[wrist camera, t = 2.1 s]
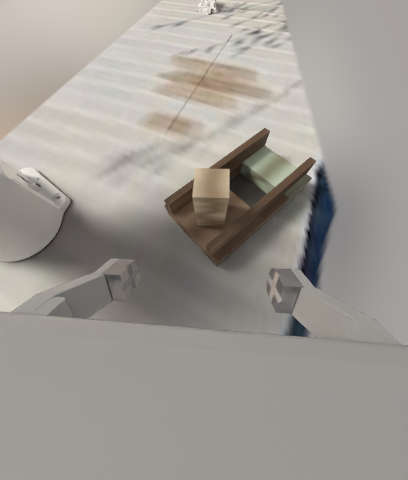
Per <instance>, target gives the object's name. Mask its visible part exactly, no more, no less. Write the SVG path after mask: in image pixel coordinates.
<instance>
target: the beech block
mask: <svg viewBox="0 0 408 480" xmlns="http://www.w3.org/2000/svg"><path fill="white" fill-rule="evenodd" d="M229 179H230V169H207V168H195V175H194V185H193V194H192V199H193V205H194V210H195V216H196V221H197V225H201V226H224V223H225V218H226V212H227V207H228V202H229Z"/></svg>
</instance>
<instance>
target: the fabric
mask: <svg viewBox="0 0 408 480" xmlns="http://www.w3.org/2000/svg"><path fill="white" fill-rule="evenodd" d="M202 5H203V6H202ZM204 5H205V6H204ZM196 7H203V8H200V9H198V10H196V11H199V12H200V13H203V14H207V15H208V13H209V14H210V13H213V14H214V10H213V9H212V8H215V9H216V11H215V12H218V13H219V11H218V10H217V7H216V0H202V2H201V3H200V4H199V6H196ZM201 11H202V12H201Z"/></svg>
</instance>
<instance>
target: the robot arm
mask: <svg viewBox="0 0 408 480" xmlns="http://www.w3.org/2000/svg"><path fill="white" fill-rule="evenodd" d="M69 204H70V199H69V198H68V197H67V196H66V195H65V194H64V193H62V192H61V191H60V190H59V189H58V188H57V187H55V186H54V185H53V184H52V183H51V182H50V181H48V180H47V179H46V178H45V177H44V176H43V175H41V174H40V173H39V172H38V171H37V170H35V169H33V168H31V167H29V168H23V169H19V170H16V169H15V168H13V167H12V166H10V165H9V164H7V163H5V162H4V161H2V160H0V261H5V262H14V261H19V260H23V259H26V258H28V257H30V256H32V255H34V254H36V253H37V252H39V251H40V250H42V249H43V248H44V247H45V246H46V245H47V244H48V243H49V242H50V241H51V240H52V239H53V238H54V236H55V235H56V233H57V232H58V230H59V228H60V225H61V222H62V218H63V214H64V212H65V210H66V209H67V207H68V206H69ZM137 267H138V263H137V261H136V260H127V259H110V260H108V261H107V262H106V263H105V264H104V265H102V266H101V267H100V268H99V269H98V270H96V271H95V272H94V273H93V274H88V275H85V276H82V277H80V278H77V279H75V280H72V281H70V282H67V283H64V284H62V285H59V286H57V287H54V288H51V289H49V290H46V291H44V292H41V293H39V294H36V295H35V296H33V297H32V298H30V299H29V300H28V301H26V302H25V303H23V304H22V305H20V306H19V307H18V308H16V309H15V310H13V311H12V312H0V480H408V345H401V344H400V343H399V342H398V341H397V340H396V339H395V338H394V337H393V336H392V335H391V334H390V333H389V332H388V331H387V330H386V329H384V328H383V327H382V326H381V325H380V324H379V323H378V322H377V321H376V320H375V319H373V318H371V317H369V316H367V315H366V314H363V313H362V312H360V311H358V310H356V309H355V308H353V307H351V306H349V305H347V304H346V303H344V302H342V301H340V300H338V299H337V298H335V297H333V296H331V295H329V294H327V293H326V292H324V291H322V290H320V289H318V288H315V287H314V286H313V285H312V284H311V282H310V281H309V280H308V279H307V278H306V276H305V275H304V274H303V273H302V272H301V270H299V269H275V268H271V270H270V273H269V275H270V277H271V278H270V279H269V280H268V282H267V292H268V295H269V297H270V298H272V302H271V303H272V305H273V307H274V310H275V312H279V313H289V314H292V315H293V316H294V317H295V318H296V319H297V320H298V321H299V322H300V323H301V324H302V325H303V326H304V327H305V328H306V329H308V330H309V331H310V332H311V333H312V334H313V335H314V336H315V337H316V338H312V337H299V336H287V335H274V334H263V333H251V332H239V331H227V330H216V329H204V328H191V327H179V326H167V325H155V324H143V323H131V322H119V321H107V320H95V319H87V318H89V317H90V316H92V315H93V314H94V313H96V312H97V311H99V310H100V309H102V308H103V307H105V306H106V305H107V304H109V303H110V302H112V300H116V301H127V300H128V299H129V297H130V296H131V294H132V293H133V291H132V289H134V288H136V287H137V285H138V284H139V281H140V272H139V271H138V270H137Z"/></svg>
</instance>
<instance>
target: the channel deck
mask: <svg viewBox="0 0 408 480" xmlns="http://www.w3.org/2000/svg"><path fill="white" fill-rule="evenodd" d="M269 132H270V131H269V130H267V129H266V128H264V129H263V130H261V131H260V132H259V133H257V134H256V135H254V136H253V137H252V138H250V139H249V140H248V141H246V142H245V143H243V144H242V145H241V146H239V147H238V148H236V149H235V150H234V151H232V152H231V153H229V154H228V155H227V156H225V157H224V158H222V159H221V160H220V161H218V162H217V163H216V164H214V165H213V166H211V167H210V168H209V169H230V179H229V202H228V207H227V212H226V218H225V223H224V226H201V225H197V221H196V216H195V210H194V205H193V199H192V194H193V185H194V179H193V180H192V181H190V182H189V183H188V184H186V185H185V186H183V187H182V188H181V189H179V190H178V191H177V192H175V193H174V194H172V195H171V196H170V197H168V198H167V199H165V200H164V201H165V203H166V205H165V207H166V209H167V211H168V213H169V215H170V216H171V217H172V218H173V219H174V220H175V221H176V222H177V223H178V224H179V225H180V227H181V228H182V229H183V230H184V231H185V232H186V233H187V234H188V235H189V236H190V238H191V239H192V240H193V241H194V242H195V243H196V244H197V245H198V246H199V247H200V248H201V250H202V251H203V252H204V253H205V254H206V255H207V256H208V257H209V258H210V259H211V261H212V262H213V263H214V264H215V265H216V266H218V265H219V264H220V263H221V262H222V261H223V260H224V259H225V258H226V257H228V256H229V255H230V254H231V253H232V252H233V251H234V250H235V249H236V248H238V247H239V246H240V245H241V244H242V243H243V242H244V241H245V240H246V239H248V238H249V237H250V236H251V235H252V234H253V233H254V232H255V231H256V230H258V229H259V228H260V227H261V226H262V225H263V224H264V223H265V222H266V221H268V220H269V219H270V218H271V217H272V216H273V215H274V214H275V213H276V212H278V211H279V210H280V209H281V208H282V207H283V206H284V205H285V204H286V203H288V202H289V201H290V200H291V199H292V198H293V197H294V196H295V195H296V194H298V193H299V192H300V191H301V190H302V189H303V188H304V187H305V186H306V184H307V183H308V182H309V181H310V180H311V179H312V178H311V177H310V176H308V175H307V172H308V171H309V170H310V168H311V167H312V166H313V165H314V163H315V162H316V160H314V159H313V158H311V157H310V158H309V159H308V160H306V161H305V162H304V163H303V164H302V165H300V166H299V167H298V168H297V167H295V166H294V165H292V164H291V163H289V162H288V161H286V160H285V159H283V158H282V157H280V156H279V155H278V154H276V153H275V152H273V151H272V150H270V149H269V148H267V147H266V146H265V143H266V140H267V138H268V135H269Z"/></svg>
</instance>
